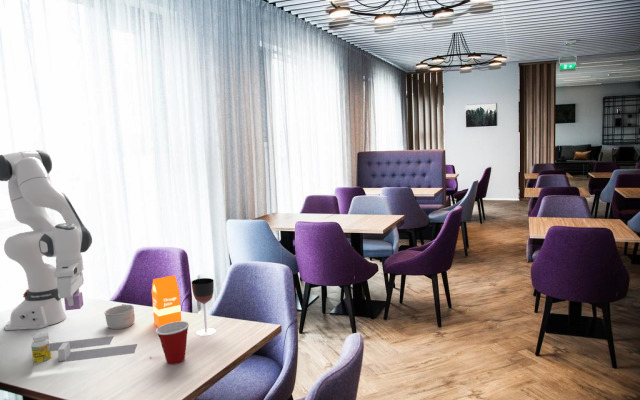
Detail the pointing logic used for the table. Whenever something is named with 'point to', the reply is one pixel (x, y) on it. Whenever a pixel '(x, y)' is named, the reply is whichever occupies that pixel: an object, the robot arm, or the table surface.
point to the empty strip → (92, 352)
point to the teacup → (120, 316)
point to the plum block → (75, 302)
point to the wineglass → (203, 299)
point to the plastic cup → (173, 340)
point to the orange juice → (166, 300)
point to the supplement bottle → (40, 348)
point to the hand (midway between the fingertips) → (73, 302)
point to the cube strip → (82, 343)
